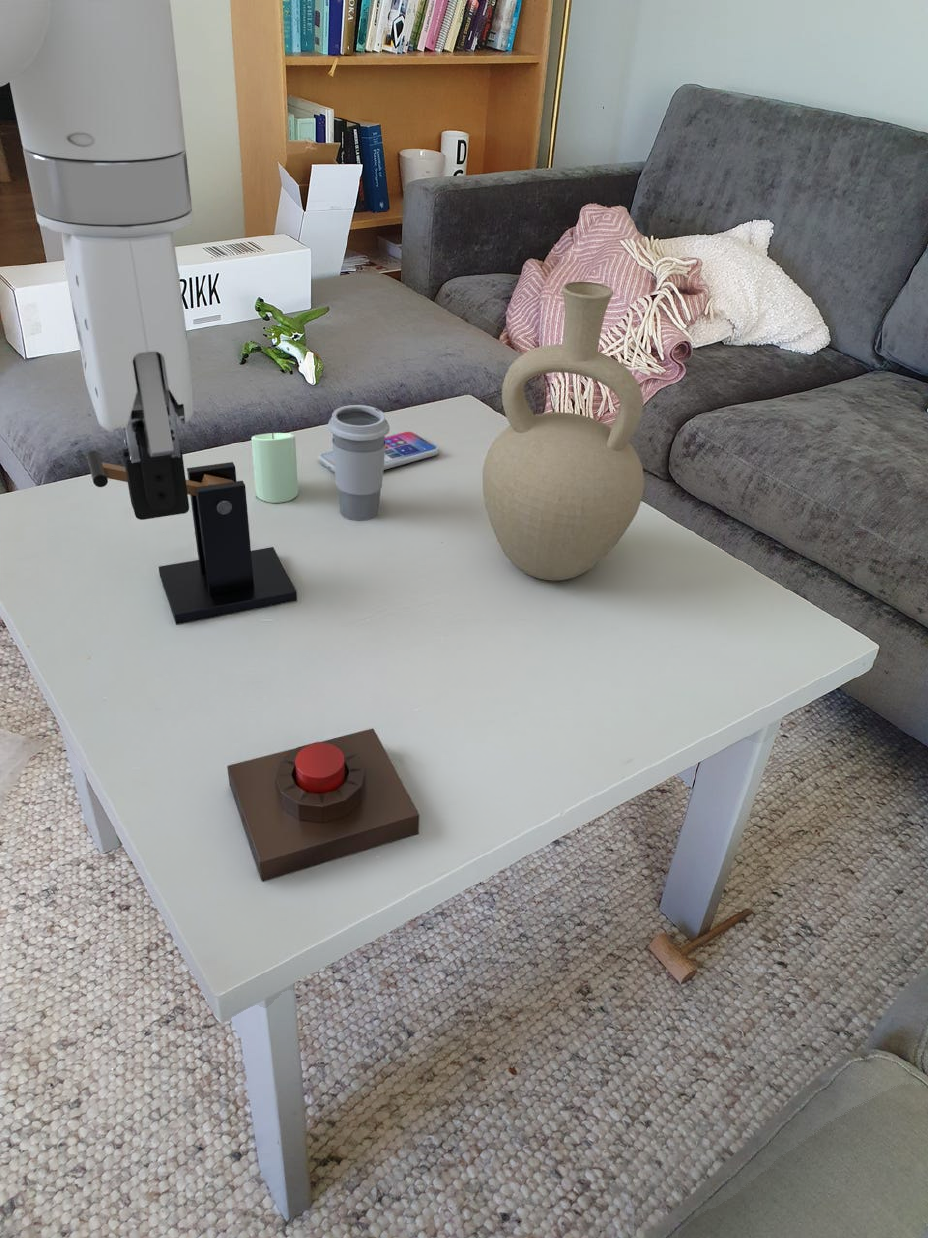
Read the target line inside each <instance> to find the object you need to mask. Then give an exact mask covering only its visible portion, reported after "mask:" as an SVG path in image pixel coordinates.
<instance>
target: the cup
mask: <svg viewBox="0 0 928 1238" xmlns="http://www.w3.org/2000/svg"><path fill="white" fill-rule="evenodd" d="M327 428H328V431H330V433H331V434H332V438H331V445H332V451H333V456H334V466H335V473H334V475H335V476H334V477H335V485H336V487H337V495H338V496H337V497H338V507H339V514H341V516H342V517H344V518H346V519H349V520H353V521H366V520H367V521H368V520H370V519H373V518H375V517H376V516H378V514H379V512H380V503H381V502H380V501H381V491H382V487H383V482H384V481H383V479H384V470H383V468H384V456H385V444H386V443H385V437H386V436H387V435H388V434H389V432H390V424H389V422H388V420H387V419H386V414H385V413H384V412H383V411H382V410H380V409H379V408H378V407H375V406H374V407H373V406H370V405H364V404H350V405H349V404H348V405H344V406H340V407H338V408H335V410H333V412H332V413H331V417H330V418H329V420H328V423H327Z"/></svg>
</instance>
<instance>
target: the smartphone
mask: <svg viewBox="0 0 928 1238" xmlns="http://www.w3.org/2000/svg"><path fill="white" fill-rule="evenodd" d="M385 443H386V444H385V456H384V468H383V471H385V470H388V469H391V468H392V469H393V468H396V467H400V466H403V465H406V464H410V463H413V462H416V461H420V460H424V459H427V458H431V457H434V456H437V455H438V454H439V453H440V448H439V447H438V446H437V445H435V444H434V443H432V442H430V441H428V440H427V439H425V438H424V437H422V436H421V435H419V434H417V433H416V432H414V431H403V432H400V433H395V434H391V435H388V436H387V435H386V436H385ZM318 462H319V463H320V464H322V465H323V466H324V467H326V468H327V469H328V470H330V471H331V472H333V473H334V474H335V466H334V456H333V450H330V451H327V452H323V453H321V454H320V455H318Z"/></svg>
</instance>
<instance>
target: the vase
mask: <svg viewBox="0 0 928 1238" xmlns="http://www.w3.org/2000/svg"><path fill="white" fill-rule="evenodd" d="M561 292H562V298H563V308H564V309H563V311H564V313H563V315H564V316H563V317H564V318H563V334H562V335H563V336H562V344H549V345H541V346H538V347H535V348H532V349H529V350H527V351H526V352H525V353H523V354H522V355H520V356H519V357H517V358H516V359H515V360H514V361H513V363H511V365H510V366H509V367H508V369H507V372H506V374H505V376H504V378H503V382H502V386H501V387H502V388H501V390H502V391H501V401H502V407H503V411H504V414H505V417H506V419H507V421H508V424H509V426H507V427H506V428H505V429H504V430H502V431H501V432H500V433H499V434H498V435H497V437H495V439H494V440H493V442H492V443H491V445H490V446H489V449H488V450H487V453H486V456H485V459H484V462H483V467H482V492H483V500H484V505H485V509H486V513H487V516H488V520H489V523H490V526H491V529H492V531H493V533H494V536H495V538H496V541H497V543H498V545H499V546H500V548H501V550H502V552H503V553H504V555H505V556H506V557H507V559H508V560H509V561H510V563H511V564H512V565H513V566H514V567H515V568H517V569H518V570H520V571H521V572H522V573H524V574H526V575H528V576H531V577H534V578H536V579H540V580H546V581H551V582H552V581H565V580H569V579H574V578H576V577H578V576H581V575H582V574H584V573H586V572H588V571H590V569H592V568H593V567H594V566H595V565H597V564H598V563H599V562H601V560H602V559H603V558H605V556H606V555H608V553H609V552H610V551H611V550H612V549H613V548H614V547H615V546H616V544H617V543H618V542H619V541H620V540H621V539H622V537H623V535H624V534H625V533H626V531H627V530H628V528H629V527H630V526H631V524H632V523H633V522H634V521H633V520H634V519H635V517H636V515H637V513H638V512H639V511H638V510H639V508H640V506H641V502H642V498H643V496H644V491H645V475H644V469H643V465H642V463H641V460H640V456H639V455H638V453H637V451H636V450H635V448H634V447H633V446H632V444H631V443H630V442H629V441H630V440H631V439H632V437H633V436H634V435H635V432H636V430H637V428H638V426H639V424H640V421H641V419H642V416H643V413H644V395H643V391H642V388H641V387H640V384H639V382H638V379H637V378H636V377H635V376H634V374H633V373H632V372H631V371H630V370H629V369H628V367H626V366H625V365H624V364H623V363H621V362H620V361H618V360H617V359H615V358H613V357H611V356H609V355H607V354H606V353H604V352H600V351H599V347H600V339H601V333H602V329H603V324H604V320H605V315H606V314H607V313H606V312H607V310H608V306H609V304H610V300H611V298H612V296H613V295H614V290H613V289H612V288H611V287H609V286H608V285H606V284H602V283H598V282H593V281H592V282H591V281H581V280H579V281H570V282H569V281H568V282H567V283H564V284H563V285H562V286H561ZM552 373H565V374H572V375H578V376H583V377H586V378H589V379H591V380H594V381H596V382H597V383H601V385H603V386H605V387H607V388H608V389H609V390H610V391H612V393H613V394H614V395H615V397H616V399H617V400H618V402H619V407H618V411H617V413H616V415H615V417H614V420H613V422H612V425H611V426H610V425H608V424H607V423H605V422H602V421H600V420H597V419H595V418H594V417H590V416H586V415H583V414H578V413H574V412H561V411H553V412H549V411H547V412H544V413H538V414H535V413H534V412H533V411H532V409H531V407H530V406H529V403H528V401H527V396H526V392H525V387H526V383H527V382H528V381H530V380H531V379H533V378H534V377H537V376H539V375H544V374H545V375H546V374H552Z"/></svg>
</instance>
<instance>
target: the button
mask: <svg viewBox="0 0 928 1238" xmlns="http://www.w3.org/2000/svg"><path fill="white" fill-rule="evenodd" d="M314 743H315V744H312V743H310V744H311V745H309V746H306V747H305V748H303V749H302V750H301V751H300V752H299V753H298V754H297V756H296V759H295V766H296V779H297V783H298V785H299V786H300V787H301V788H302V789H303V790H305V791H307V792H310V793H316V794H324V793H327V792H331V791H334V790H336V789H337V788H338V787H339V786H340V785H341V784H342V783H343V781H344V778H345V758H344V754H343V753H342V751H341V750H340V749H339V748H338V747H336V746H334V745H332V744H328V743H316V742H314Z"/></svg>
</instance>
